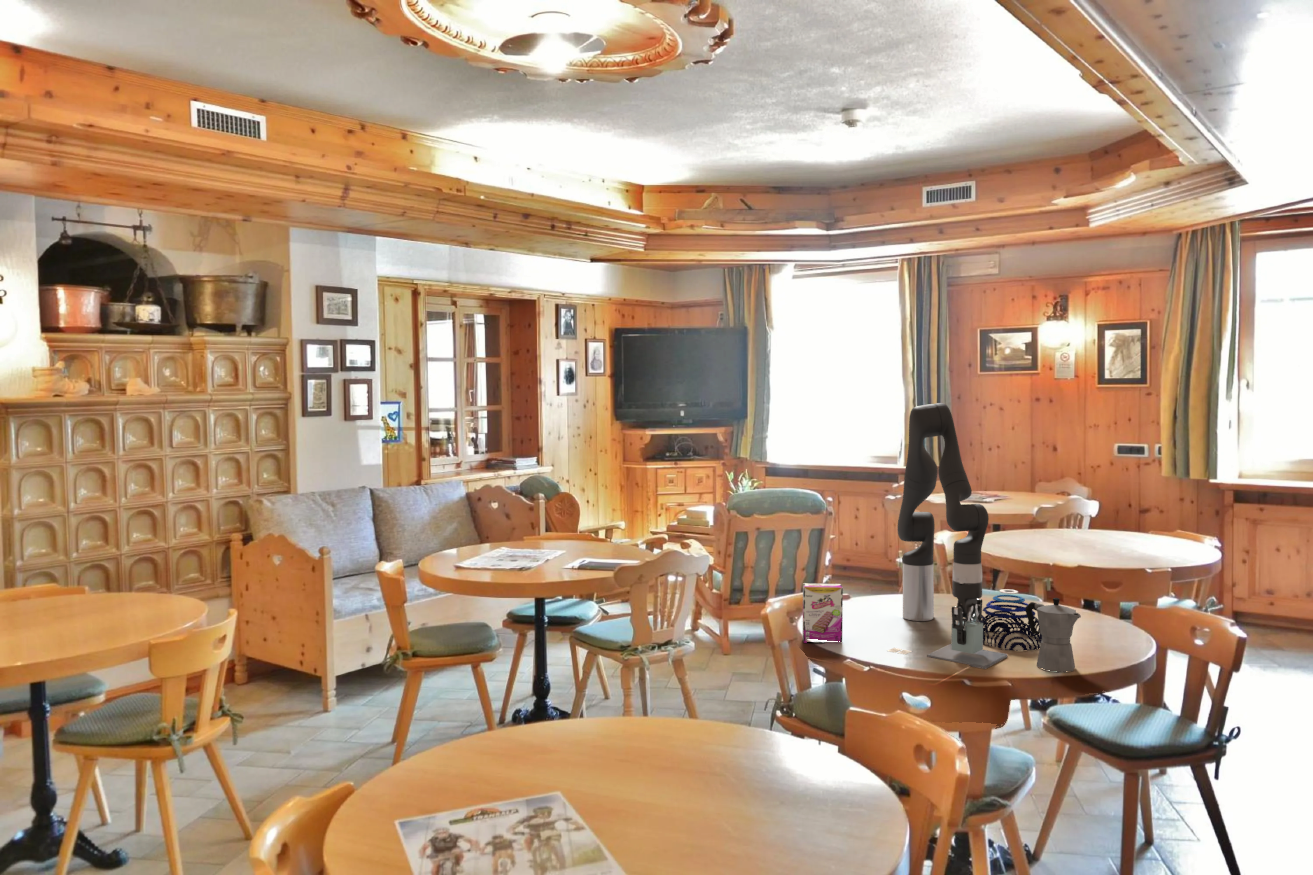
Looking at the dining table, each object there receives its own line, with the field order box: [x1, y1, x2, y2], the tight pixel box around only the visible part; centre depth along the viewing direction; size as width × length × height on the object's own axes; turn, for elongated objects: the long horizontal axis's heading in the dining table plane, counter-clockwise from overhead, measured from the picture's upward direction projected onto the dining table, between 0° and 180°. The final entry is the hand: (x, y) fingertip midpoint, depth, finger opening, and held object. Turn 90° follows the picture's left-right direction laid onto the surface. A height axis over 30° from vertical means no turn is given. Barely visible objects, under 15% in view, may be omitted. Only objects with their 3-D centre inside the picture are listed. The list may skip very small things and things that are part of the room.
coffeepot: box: [1024, 597, 1082, 673], centre depth 242 cm, size 15×9×18 cm, turn 33°
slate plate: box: [926, 643, 1008, 670], centre depth 251 cm, size 14×16×1 cm
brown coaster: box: [887, 647, 913, 655], centre depth 257 cm, size 14×14×1 cm
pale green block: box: [950, 621, 984, 654], centre depth 251 cm, size 6×6×7 cm
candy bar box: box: [802, 582, 844, 644], centre depth 269 cm, size 11×5×16 cm, turn 84°
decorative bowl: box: [979, 588, 1042, 652], centre depth 267 cm, size 20×20×14 cm
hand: (967, 640), depth 251 cm, fingers open, 6 cm apart
